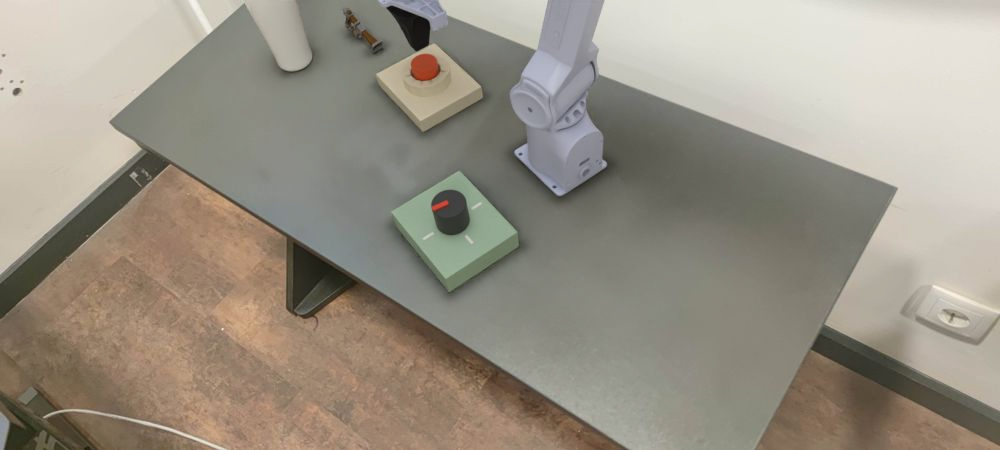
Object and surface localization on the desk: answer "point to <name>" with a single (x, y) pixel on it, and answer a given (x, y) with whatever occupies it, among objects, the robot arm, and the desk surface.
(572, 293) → the desk surface
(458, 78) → the push button base
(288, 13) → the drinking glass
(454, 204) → the dial
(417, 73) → the power button
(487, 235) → the dial panel
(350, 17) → the wooden post with brackets
